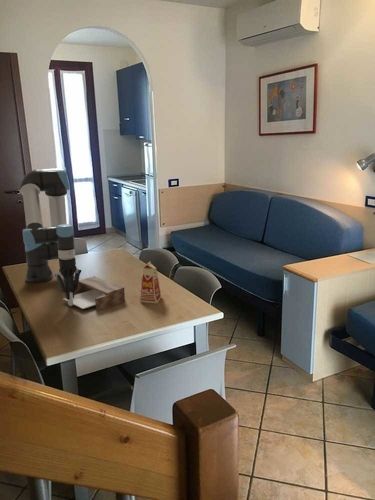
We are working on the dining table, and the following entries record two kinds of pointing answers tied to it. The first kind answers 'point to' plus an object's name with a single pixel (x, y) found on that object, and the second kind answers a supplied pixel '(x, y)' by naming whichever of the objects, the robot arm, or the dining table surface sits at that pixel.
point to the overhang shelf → (102, 291)
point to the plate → (86, 299)
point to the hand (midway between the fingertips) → (70, 305)
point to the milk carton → (150, 285)
